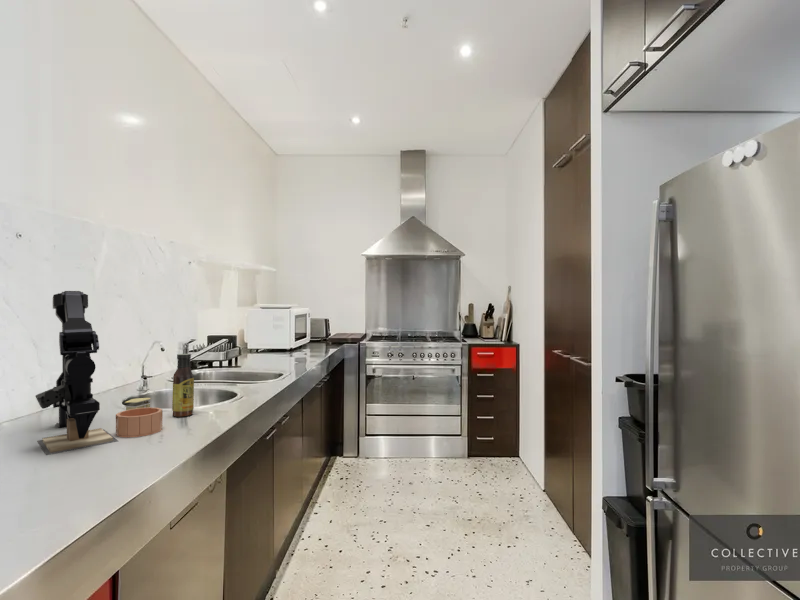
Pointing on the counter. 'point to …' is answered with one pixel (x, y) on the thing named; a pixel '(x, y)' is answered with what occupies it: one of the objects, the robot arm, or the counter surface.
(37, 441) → the mat
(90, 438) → the lid
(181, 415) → the sauce bottle
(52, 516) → the counter surface
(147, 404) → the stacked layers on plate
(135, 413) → the bowl
